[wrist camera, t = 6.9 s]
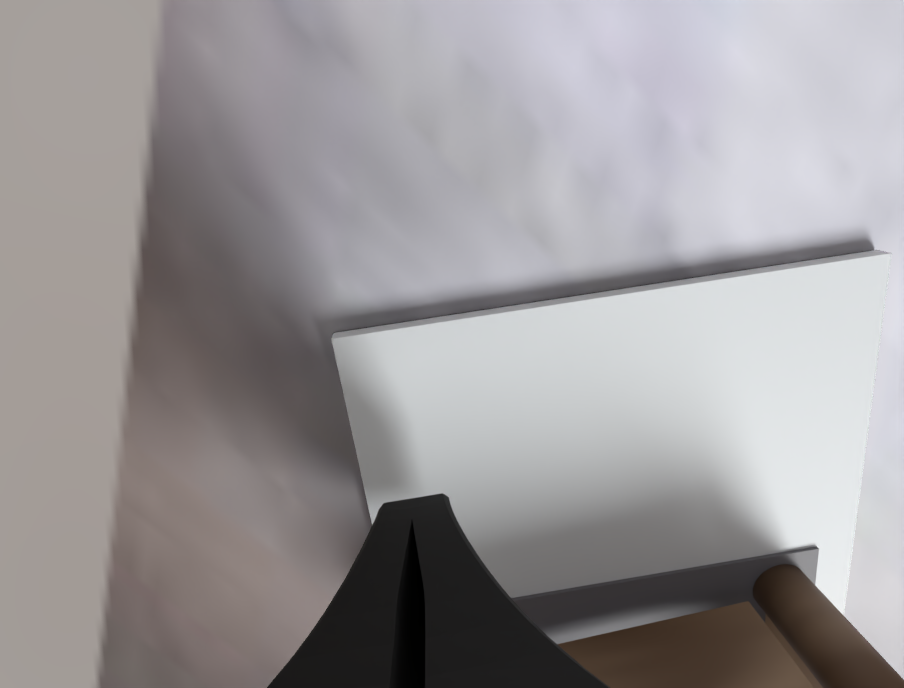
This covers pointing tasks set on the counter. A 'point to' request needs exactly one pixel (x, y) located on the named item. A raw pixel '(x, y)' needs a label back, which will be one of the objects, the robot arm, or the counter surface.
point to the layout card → (634, 436)
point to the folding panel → (691, 653)
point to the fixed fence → (819, 633)
